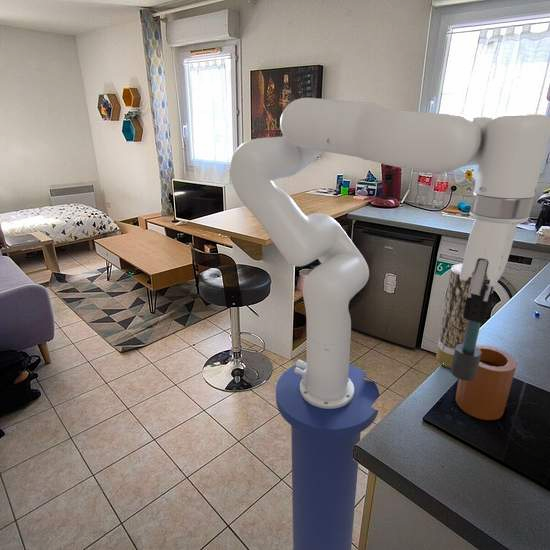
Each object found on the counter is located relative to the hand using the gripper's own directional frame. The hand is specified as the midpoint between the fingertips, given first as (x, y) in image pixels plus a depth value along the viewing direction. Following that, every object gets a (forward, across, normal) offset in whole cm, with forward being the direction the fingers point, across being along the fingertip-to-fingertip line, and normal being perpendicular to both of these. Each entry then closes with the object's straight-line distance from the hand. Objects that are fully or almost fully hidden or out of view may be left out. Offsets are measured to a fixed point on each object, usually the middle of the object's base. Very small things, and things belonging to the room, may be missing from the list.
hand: (475, 316), depth 60 cm
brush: (+12, 0, 0) cm, 12 cm away
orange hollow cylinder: (+26, -12, +3) cm, 29 cm away
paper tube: (+26, -24, -6) cm, 36 cm away
